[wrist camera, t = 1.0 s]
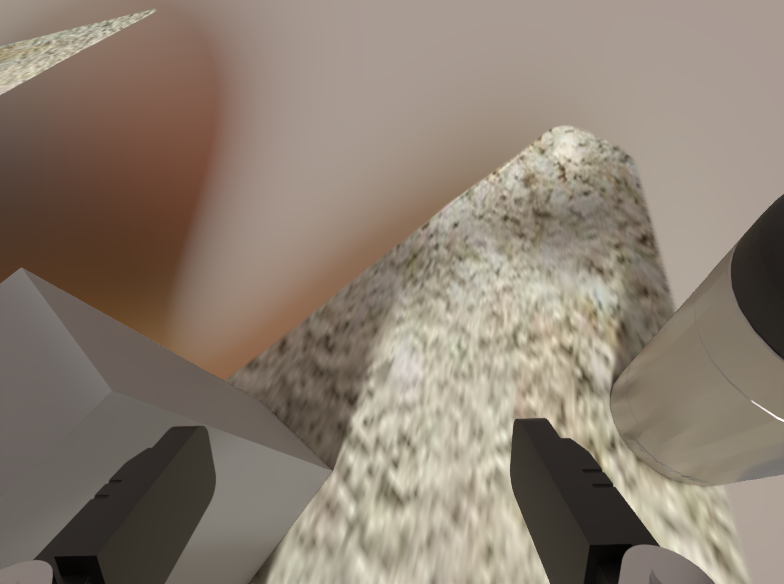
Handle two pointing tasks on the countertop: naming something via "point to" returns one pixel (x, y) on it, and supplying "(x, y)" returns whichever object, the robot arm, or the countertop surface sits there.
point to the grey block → (131, 434)
